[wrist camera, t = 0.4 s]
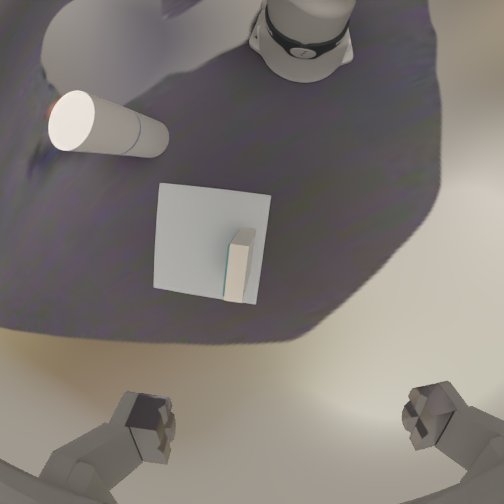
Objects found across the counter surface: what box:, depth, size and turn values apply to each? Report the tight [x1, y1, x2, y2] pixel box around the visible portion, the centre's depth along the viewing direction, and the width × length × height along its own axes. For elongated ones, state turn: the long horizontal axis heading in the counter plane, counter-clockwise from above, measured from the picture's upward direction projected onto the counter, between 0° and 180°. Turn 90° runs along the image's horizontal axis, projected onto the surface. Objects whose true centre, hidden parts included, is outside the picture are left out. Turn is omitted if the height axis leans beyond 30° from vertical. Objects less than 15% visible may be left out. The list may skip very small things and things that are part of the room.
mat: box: [154, 183, 271, 305], centre depth 55 cm, size 20×20×1 cm
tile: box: [222, 227, 256, 303], centre depth 48 cm, size 8×3×14 cm, turn 173°
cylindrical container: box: [48, 91, 169, 158], centre depth 40 cm, size 7×7×25 cm
